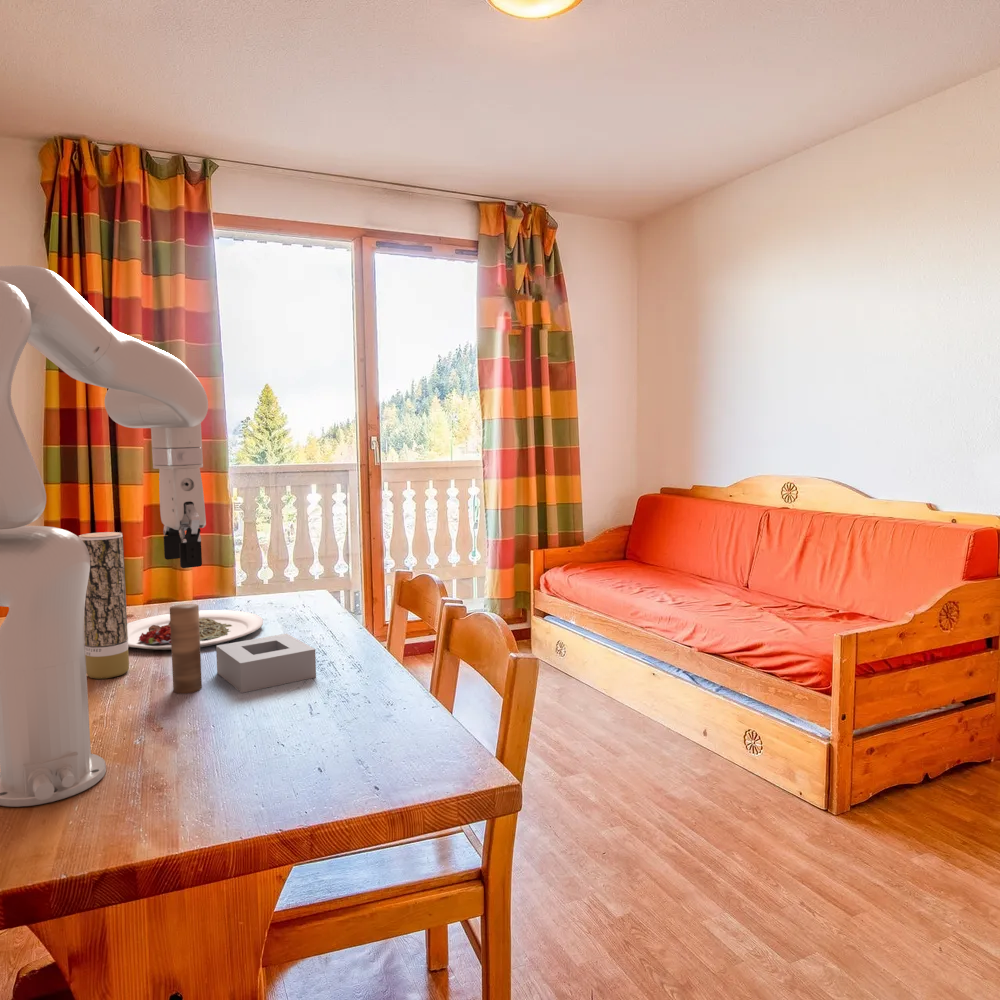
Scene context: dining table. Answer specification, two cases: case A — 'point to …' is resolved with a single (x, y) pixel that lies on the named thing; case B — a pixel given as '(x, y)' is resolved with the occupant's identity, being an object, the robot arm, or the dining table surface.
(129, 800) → the dining table surface
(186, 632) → the peg
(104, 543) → the paper tube
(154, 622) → the plated food
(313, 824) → the dining table surface
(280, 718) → the dining table surface
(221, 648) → the socket
